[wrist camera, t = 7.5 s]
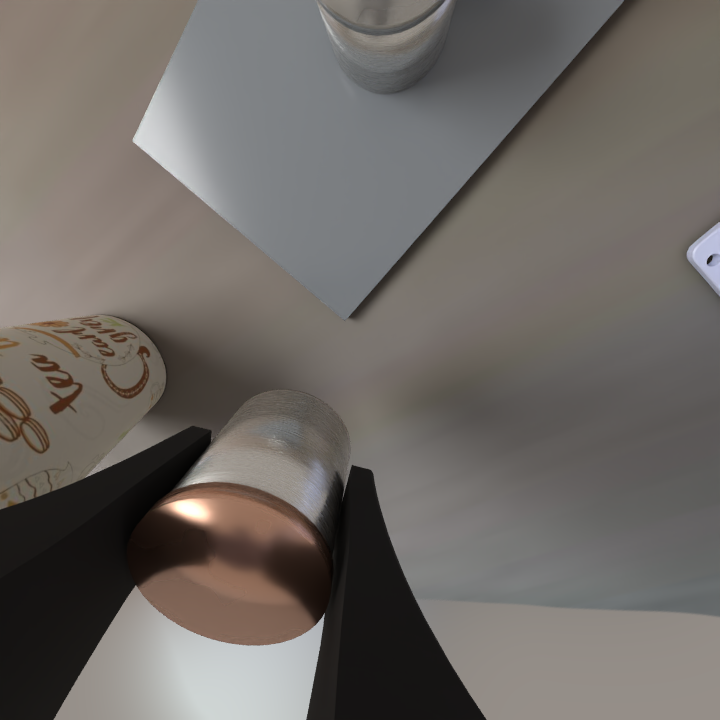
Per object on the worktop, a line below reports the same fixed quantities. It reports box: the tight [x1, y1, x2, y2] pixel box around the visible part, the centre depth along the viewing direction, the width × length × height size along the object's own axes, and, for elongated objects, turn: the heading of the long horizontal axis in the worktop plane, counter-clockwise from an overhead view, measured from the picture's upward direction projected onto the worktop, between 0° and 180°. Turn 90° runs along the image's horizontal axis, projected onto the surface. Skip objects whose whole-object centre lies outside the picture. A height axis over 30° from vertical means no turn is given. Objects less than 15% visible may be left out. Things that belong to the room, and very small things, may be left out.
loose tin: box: [127, 389, 351, 645], centre depth 10 cm, size 5×5×5 cm
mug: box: [0, 315, 166, 509], centre depth 16 cm, size 8×13×10 cm, turn 116°
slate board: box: [133, 0, 624, 321], centre depth 13 cm, size 12×18×1 cm, turn 140°
